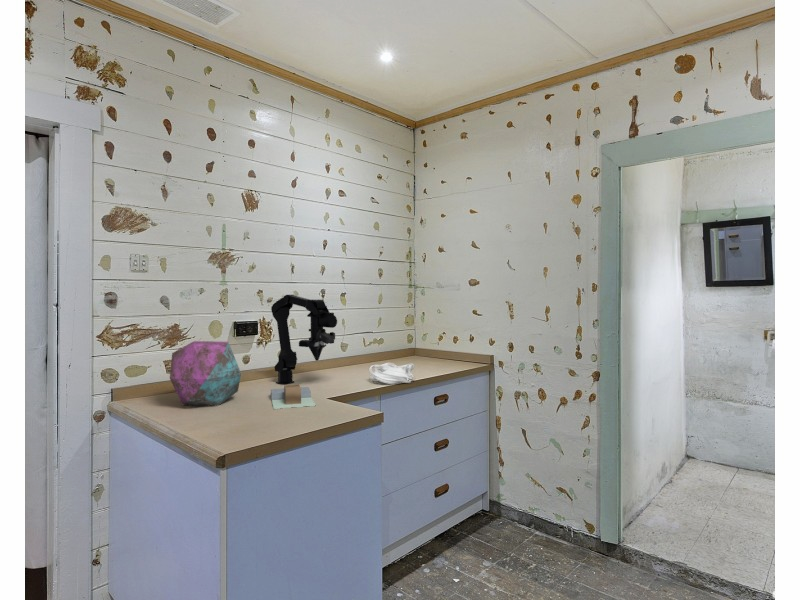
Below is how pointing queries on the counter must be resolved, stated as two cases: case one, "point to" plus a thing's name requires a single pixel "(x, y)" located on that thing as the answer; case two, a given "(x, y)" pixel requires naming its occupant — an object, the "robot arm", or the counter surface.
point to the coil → (392, 373)
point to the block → (292, 394)
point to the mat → (281, 404)
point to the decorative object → (205, 373)
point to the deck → (279, 393)
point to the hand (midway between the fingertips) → (317, 360)
